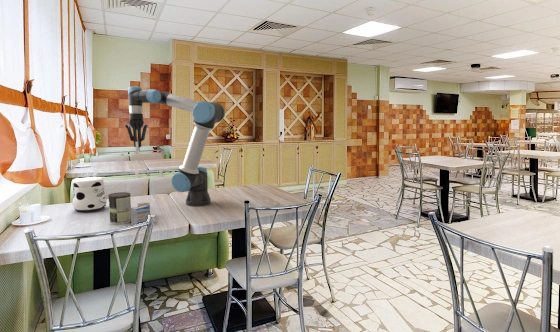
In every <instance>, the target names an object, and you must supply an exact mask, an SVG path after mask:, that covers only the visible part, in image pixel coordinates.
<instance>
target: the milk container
mask: <svg viewBox="0 0 560 332" xmlns="http://www.w3.org/2000/svg"><path fill="white" fill-rule="evenodd" d="M72 187H73V197H72V198H73V199H72V206H73V207H72V208H73V209H74V210H75V211H78V212H92V211H93V212H95V211H98V210H101V209H104V208H105V207H106V206H107V199H108V198H107V196H106V194H105V193H106V192H105V183H104V178H103V177H99V176H95V177H94V176H92V177H81V178H79V177H78V178H76V179H73V180H72Z"/></svg>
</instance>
